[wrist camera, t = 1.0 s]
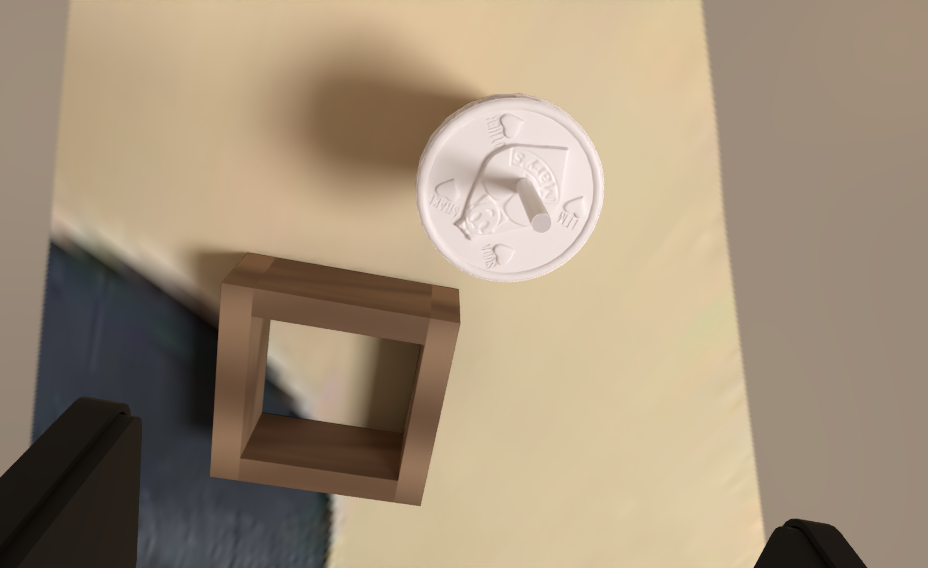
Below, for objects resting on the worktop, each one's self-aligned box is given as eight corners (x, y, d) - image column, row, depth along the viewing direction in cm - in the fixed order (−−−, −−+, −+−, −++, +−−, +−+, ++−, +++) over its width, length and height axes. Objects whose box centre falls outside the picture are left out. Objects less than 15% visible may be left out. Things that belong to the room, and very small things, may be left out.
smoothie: (586, 152, 30) (689, 249, 17) (482, 235, 32) (506, 382, 19) (502, 42, 28) (548, 58, 15) (396, 136, 30) (355, 223, 17)
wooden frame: (247, 252, 32) (221, 283, 28) (458, 289, 33) (460, 323, 29) (234, 429, 36) (210, 476, 32) (423, 457, 37) (420, 506, 33)
